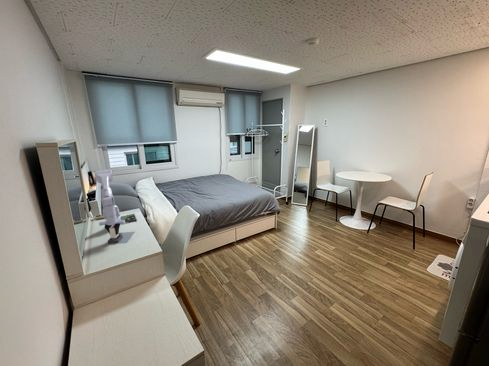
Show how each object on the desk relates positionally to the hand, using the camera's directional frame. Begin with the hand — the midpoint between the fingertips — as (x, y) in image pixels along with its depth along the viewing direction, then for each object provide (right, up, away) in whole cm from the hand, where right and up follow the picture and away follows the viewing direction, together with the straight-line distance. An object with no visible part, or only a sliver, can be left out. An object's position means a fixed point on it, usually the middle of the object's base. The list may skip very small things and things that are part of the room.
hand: (114, 234), depth 136 cm
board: (+2, -4, +5) cm, 7 cm away
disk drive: (-9, +2, +33) cm, 34 cm away
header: (0, -4, +1) cm, 4 cm away
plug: (0, -2, 0) cm, 2 cm away
